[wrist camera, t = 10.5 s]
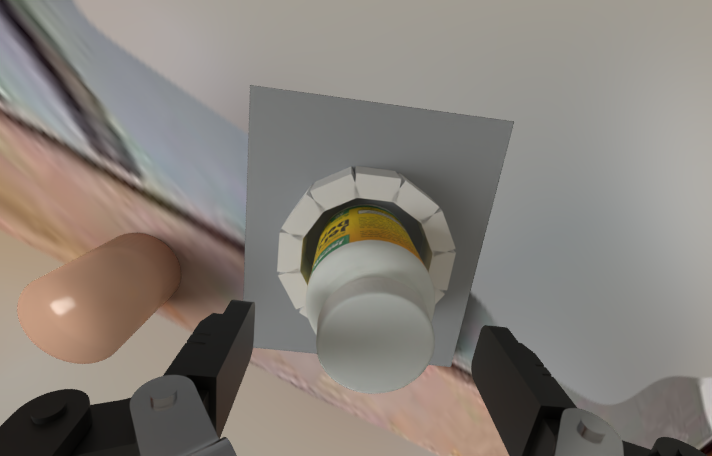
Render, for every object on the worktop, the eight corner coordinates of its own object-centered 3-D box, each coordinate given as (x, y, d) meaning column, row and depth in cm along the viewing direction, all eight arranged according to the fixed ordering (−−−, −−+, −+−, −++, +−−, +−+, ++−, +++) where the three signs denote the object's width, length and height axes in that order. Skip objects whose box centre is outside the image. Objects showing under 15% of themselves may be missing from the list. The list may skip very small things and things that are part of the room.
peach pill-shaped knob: (106, 298, 23) (26, 358, 18) (98, 228, 22) (8, 269, 16) (182, 306, 23) (128, 368, 18) (180, 237, 22) (120, 280, 16)
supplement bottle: (384, 298, 22) (409, 431, 13) (304, 266, 21) (270, 382, 12) (424, 223, 20) (486, 312, 11) (340, 186, 19) (333, 248, 10)
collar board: (248, 332, 24) (229, 373, 20) (257, 87, 19) (234, 80, 15) (444, 352, 25) (461, 395, 21) (502, 120, 20) (538, 122, 16)
